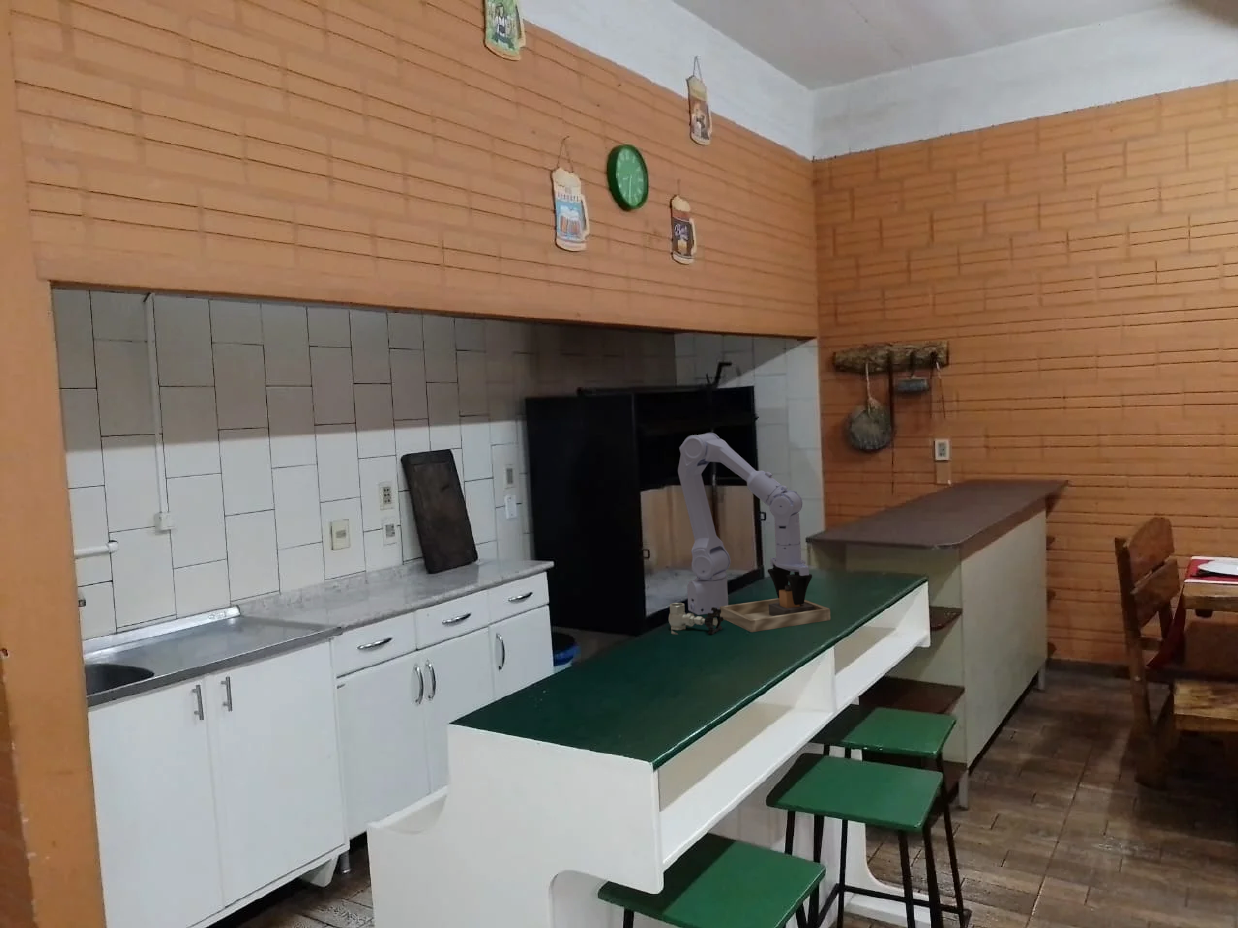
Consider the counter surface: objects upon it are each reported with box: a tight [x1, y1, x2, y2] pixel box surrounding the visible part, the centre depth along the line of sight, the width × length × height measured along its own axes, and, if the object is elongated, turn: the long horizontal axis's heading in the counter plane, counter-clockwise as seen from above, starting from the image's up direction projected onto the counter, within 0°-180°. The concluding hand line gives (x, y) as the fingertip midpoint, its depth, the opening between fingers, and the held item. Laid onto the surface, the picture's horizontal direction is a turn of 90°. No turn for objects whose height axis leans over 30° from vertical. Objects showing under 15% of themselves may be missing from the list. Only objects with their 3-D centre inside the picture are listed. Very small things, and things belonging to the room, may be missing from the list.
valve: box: [668, 602, 724, 636], centre depth 210 cm, size 7×7×12 cm
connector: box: [779, 584, 800, 608], centre depth 216 cm, size 3×3×7 cm
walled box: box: [720, 597, 831, 633], centre depth 215 cm, size 20×16×4 cm
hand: (790, 601), depth 216 cm, fingers open, 7 cm apart
